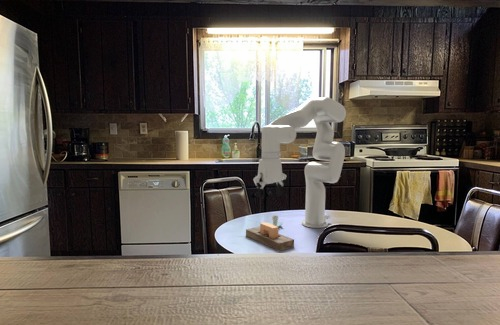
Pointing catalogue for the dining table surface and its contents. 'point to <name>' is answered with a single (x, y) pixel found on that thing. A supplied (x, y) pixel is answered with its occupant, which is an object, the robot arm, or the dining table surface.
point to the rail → (270, 239)
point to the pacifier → (275, 221)
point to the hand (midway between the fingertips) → (270, 196)
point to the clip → (269, 230)
